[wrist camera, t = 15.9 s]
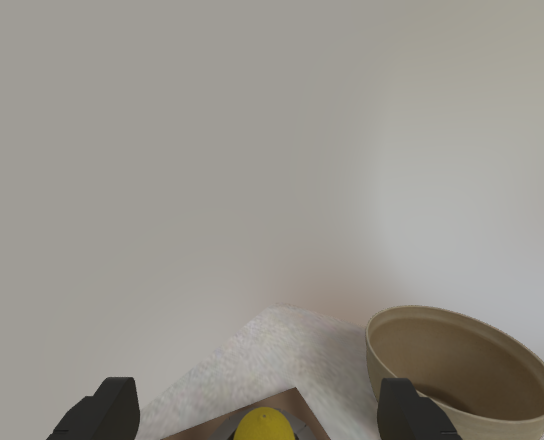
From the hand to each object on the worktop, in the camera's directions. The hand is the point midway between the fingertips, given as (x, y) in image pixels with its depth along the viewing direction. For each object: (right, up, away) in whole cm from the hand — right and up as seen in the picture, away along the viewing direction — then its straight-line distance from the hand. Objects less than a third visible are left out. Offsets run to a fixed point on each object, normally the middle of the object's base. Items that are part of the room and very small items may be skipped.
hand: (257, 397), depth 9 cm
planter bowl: (+18, -18, +22) cm, 34 cm away
